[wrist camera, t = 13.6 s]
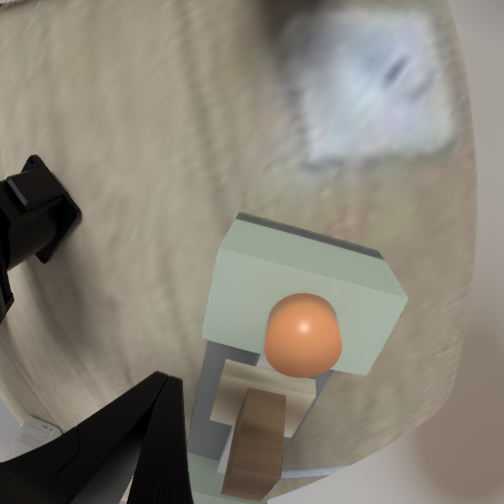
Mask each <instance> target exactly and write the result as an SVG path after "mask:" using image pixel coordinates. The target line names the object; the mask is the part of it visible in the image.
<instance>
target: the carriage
mask: <svg viewBox="0 0 504 504" xmlns="http://www.w3.org/2000/svg"><path fill="white" fill-rule="evenodd" d="M315 397H316V384H315V379H310V378H295V377H290V376H286V375H284V374H282V373H280V372H277V371H272V370H268V369H264V368H260V367H256V366H252V365H248V364H244V363H240V362H236V361H232V360H228V359H226V361H225V364H224V368H223V371H222V375H221V379H220V382H219V386H218V390H217V394H216V397H215V401H214V405H213V408H212V412H211V416H210V420H212V421H216V422H219V423H223V424H227V425H231V426H235V428H234V433H233V438H232V443H231V448H230V452H229V457H228V462H227V467H226V472H225V476H224V481H223V486H222V491H221V494H222V495H226V496H231V497H236V498H241V499H247V500H252V501H258V502H261V501H262V500H263V498H264V497H265V496H266V495H267V494H268V492H269V491H270V490H271V489H272V488H273V486H274V485H275V484H276V483H277V481H278V480H279V479H280V478H281V472H282V458H283V444H284V437H290V438H291V437H292V435H293V434H294V432H295V430H296V429H297V427H298V426H299V424H300V422H301V421H302V419H303V417H304V416H305V414H306V412H307V411H308V409H309V407H310V406H311V404H312V402H313V400H314V399H315Z"/></svg>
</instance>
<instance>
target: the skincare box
mask: <svg viewBox="0 0 504 504" xmlns="http://www.w3.org/2000/svg"><path fill="white" fill-rule="evenodd" d="M61 435H62V432H61V431H60V429H59V428H58V427H56V426H54V425H51V424H49V423H47V422H45V421H42V420H40V419H38V418H36V417H33V416H29V417H28V419H27V420H26V422H25V423H24V425H23V426H22V428H21V429H20V431H19V432H18V434H17V435H16V437H15V439H14V440H13V442H12V443H11V445H10V446H9V448H8V450H7V451H6V453H5V454H4V456H3V458H2V459H1V461H0V462H4V461H7V460H10V459H12V458H15V457H17V456H19V455H22V454H24V453H26V452H28V451H31V450H33V449H35V448H37V447H40V446H42V445H44V444H46V443H48V442H50V441H52V440H54V439H55V438H57V437H59V436H61Z"/></svg>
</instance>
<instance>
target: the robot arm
mask: <svg viewBox="0 0 504 504" xmlns="http://www.w3.org/2000/svg"><path fill="white" fill-rule="evenodd" d="M33 159H34V162H33ZM72 210H73V211H74V214H75V215H74V214H73V213H72ZM79 216H80V210H79V208H78V207H77V205H76V204H75V203H74V202H73V200H72V199H71V198H70V197H69V196H68V194H67V193H66V192H65V191H64V189H63V188H62V186H61V185H60V184H59V183H58V181H57V180H56V179H55V177H54V176H53V175H52V174H51V172H50V171H49V170H48V168H47V167H46V166H45V165H44V163H43V162H42V161H41V159H40V158H39V157H38V156H37V155H31V156H30V157H29V158H28V160H27V162H26V164H25V165H24V167H23V169H22V171H21V173H19V174H16V175H12V176H9V177H7V179H6V180H3V181H0V323H1V322H2V320H3V318H4V317H5V315H6V313H7V312H8V310H9V309H10V307H11V305H12V304H13V302H14V297H13V293H12V292H11V288H10V284H9V279H8V274H7V272H8V271H9V270H11V269H12V268H14V267H15V266H17V265H18V264H20V263H21V262H23V261H24V260H26V259H28V258H29V257H31V256H32V255H34V254H35V255H36V256H37V257H38V258H39V260H40V261H41V262H42V263H44V264H46V263H47V262H49V261H50V259H51V258H52V256H53V255H54V253H55V251H56V250H57V248H58V247H59V245H60V244H61V242H62V241H63V239H64V238H65V236H66V235H67V233H68V232H69V231H70V229H71V228H72V226H73V225H74V223H75V222H76V221H77V219H78V218H79ZM188 469H189V467H188V456H187V444H186V431H185V416H184V399H183V381H182V379H181V378H178V377H175V376H169V375H168V374H165V373H162V372H159V371H156V372H154V373H153V374H151V375H150V376H148V377H147V378H145V379H144V380H143V381H141V382H140V383H138V384H137V385H135V386H134V387H133V388H131V389H130V390H128V391H127V392H125V393H124V394H122V395H121V396H120V397H118V398H117V399H115V400H114V401H112V402H111V403H109V404H108V405H106V406H105V407H103V408H102V409H100V410H99V411H97V412H96V413H94V414H93V415H91V416H90V417H88V418H87V419H85V420H84V421H82V422H81V423H79V424H78V425H77V427H76V426H75V427H73V428H72V429H70V430H69V431H67V432H66V433H64V434H62V435H61V436H59V437H57V438H55V439H54V440H52V441H50V442H48V443H46V444H44V445H42V446H40V447H37V448H35V449H33V450H31V451H28V452H26V453H24V454H22V455H19V456H17V457H15V458H12V459H10V460H7V461H4V462H0V504H119V502H120V500H121V498H122V496H123V494H124V492H125V491H126V489H127V487H128V485H129V483H130V481H131V479H132V477H133V475H134V477H133V481H132V485H131V488H130V492H129V496H128V500H127V504H194V501H193V497H192V491H191V484H190V475H189V471H188Z"/></svg>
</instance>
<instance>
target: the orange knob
mask: <svg viewBox="0 0 504 504" xmlns="http://www.w3.org/2000/svg"><path fill="white" fill-rule="evenodd" d="M264 351H265V356H266V359H267V361H268V362H269V364H270V365H271V366H272V367H273V368H274V369H275V370H277V371H278V372H280V373H282V374H284V375H286V376H290V377H295V378H308V377H314V376H317V375H320V374H322V373H324V372H326V371H328V370H329V369H330V368H332V367H333V366H334V365H335V364H336V362H337V361H338V359H339V358H340V355H341V352H342V340H341V335H340V330H339V325H338V321H337V316H336V312H335V310H334V308H333V307H332V305H331V304H330V303H329V302H328V301H327V300H325V299H324V298H322V297H320V296H317V295H314V294H310V293H298V294H293V295H290V296H287V297H285V298H283V299H282V300H280V301H279V302H278V303H277V304H276V305H275V306H274V307H273V308H272V310H271V312H270V314H269V317H268V324H267V332H266V339H265V348H264Z"/></svg>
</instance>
